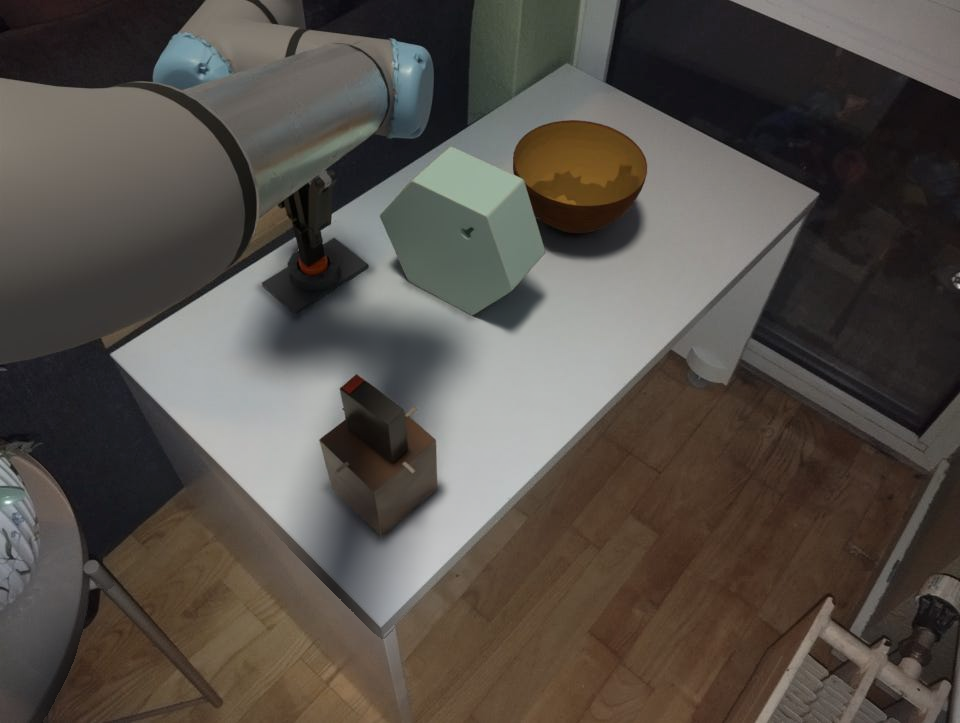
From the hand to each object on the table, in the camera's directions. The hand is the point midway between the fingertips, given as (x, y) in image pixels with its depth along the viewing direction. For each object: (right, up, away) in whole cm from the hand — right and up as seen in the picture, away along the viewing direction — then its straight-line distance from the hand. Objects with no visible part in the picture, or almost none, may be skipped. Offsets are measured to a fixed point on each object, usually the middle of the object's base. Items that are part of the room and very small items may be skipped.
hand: (312, 258), depth 98 cm
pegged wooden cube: (+11, -27, -16) cm, 33 cm away
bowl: (+34, +7, +11) cm, 37 cm away
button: (0, -1, +1) cm, 2 cm away
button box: (0, -2, +3) cm, 3 cm away
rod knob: (+11, -21, -24) cm, 33 cm away
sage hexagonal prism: (+19, -3, +3) cm, 19 cm away
